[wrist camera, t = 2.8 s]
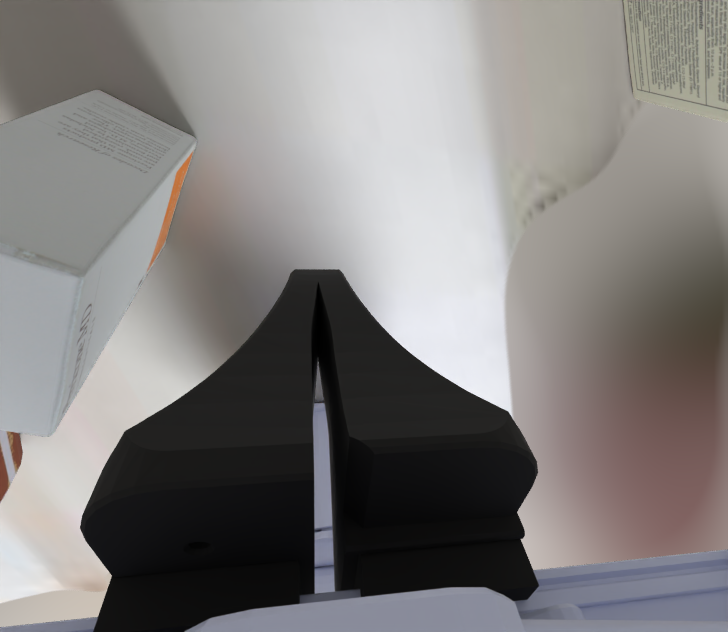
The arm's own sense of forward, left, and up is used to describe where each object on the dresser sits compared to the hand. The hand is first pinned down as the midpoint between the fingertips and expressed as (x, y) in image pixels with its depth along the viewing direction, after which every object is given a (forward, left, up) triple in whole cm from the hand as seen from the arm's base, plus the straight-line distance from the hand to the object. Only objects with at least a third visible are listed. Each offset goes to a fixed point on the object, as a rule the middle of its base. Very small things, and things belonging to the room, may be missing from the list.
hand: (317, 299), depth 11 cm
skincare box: (0, +8, -10) cm, 13 cm away
